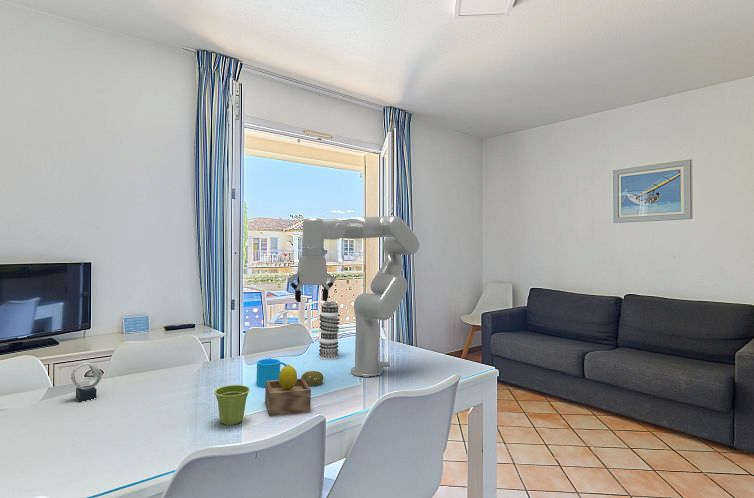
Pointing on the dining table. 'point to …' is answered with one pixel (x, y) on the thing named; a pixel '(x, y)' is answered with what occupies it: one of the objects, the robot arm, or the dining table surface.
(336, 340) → the decorative candle
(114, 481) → the dining table surface
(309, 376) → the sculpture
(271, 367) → the mug
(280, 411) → the walnut box
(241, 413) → the plant pot
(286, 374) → the lemon
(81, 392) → the watch
